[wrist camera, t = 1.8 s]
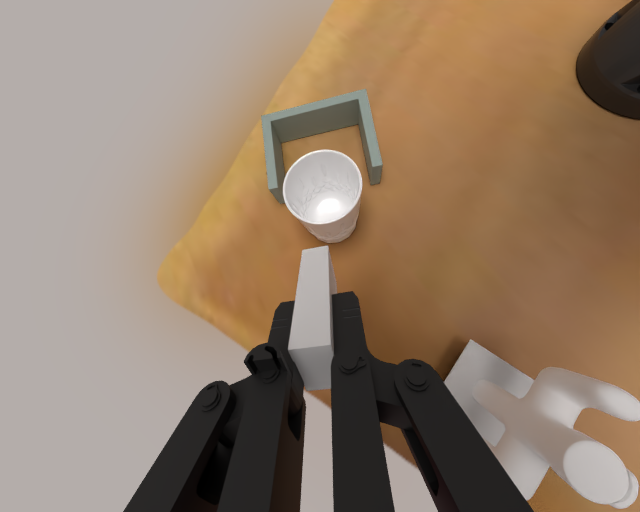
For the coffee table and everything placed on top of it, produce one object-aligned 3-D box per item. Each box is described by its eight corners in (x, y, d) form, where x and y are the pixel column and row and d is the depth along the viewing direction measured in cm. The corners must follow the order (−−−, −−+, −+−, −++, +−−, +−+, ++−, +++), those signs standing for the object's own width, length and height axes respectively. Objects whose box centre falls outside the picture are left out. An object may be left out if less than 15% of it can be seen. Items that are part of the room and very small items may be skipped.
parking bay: (365, 115, 35) (365, 88, 31) (379, 183, 33) (382, 164, 28) (272, 138, 37) (261, 116, 32) (280, 203, 34) (268, 189, 30)
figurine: (418, 395, 27) (486, 506, 12) (461, 326, 28) (574, 353, 13) (479, 441, 25) (643, 631, 11) (524, 366, 26) (736, 449, 11)
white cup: (299, 204, 34) (274, 164, 24) (351, 186, 33) (348, 138, 23) (313, 255, 32) (293, 234, 22) (369, 237, 31) (373, 208, 22)
